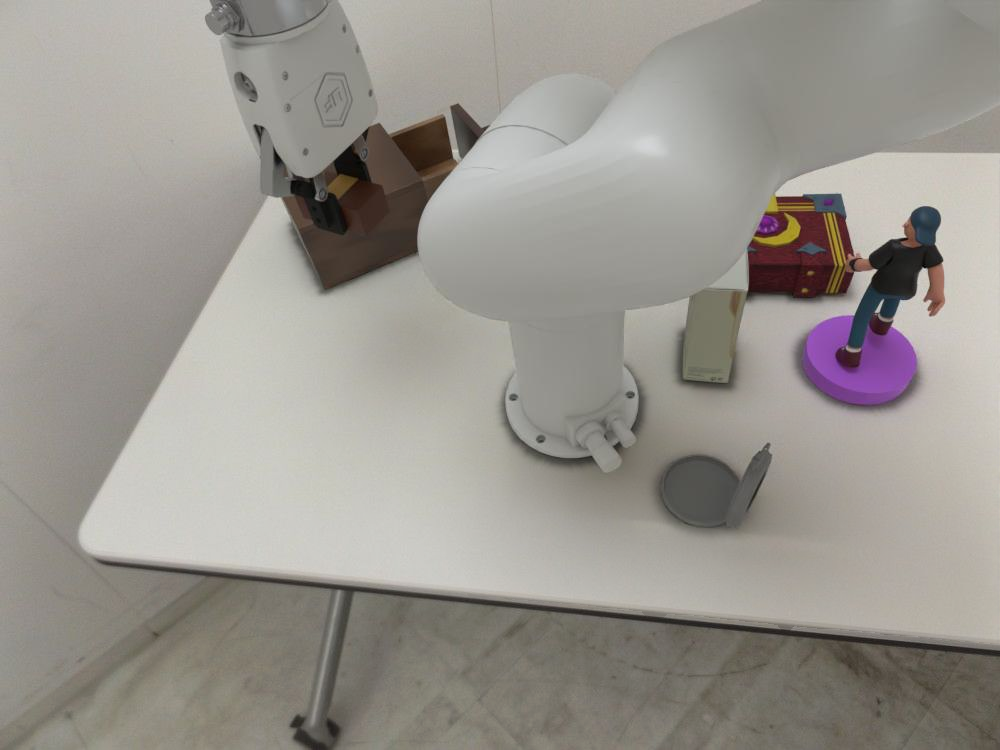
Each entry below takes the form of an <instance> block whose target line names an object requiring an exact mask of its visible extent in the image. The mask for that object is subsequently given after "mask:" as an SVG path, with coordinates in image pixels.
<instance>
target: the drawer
mask: <svg viewBox="0 0 1000 750" xmlns="http://www.w3.org/2000/svg"><path fill="white" fill-rule="evenodd" d="M449 108H450V114H451V120H452V124H453V129H454V130H453V131H454V134H455V139H456V140H455V141H456V145H457V151H458V156H459V157H460V158H461V160H462V159H463V158H464V157H465V156H466V154H467V153H468V152H469V151H470V150H471V149H472V147H473V146H474V145H475V143H476V141H477V140H478V139H479V138H480V137H481V135H482V134H483V133H484V132H485V131H486V130H487V128H488V127H489V126H490V125H491V124H488V125H486V126H483V127H481V126H480V125H479V124H478V123H477V121H476V120H474V118H473V117H472V116H471V115H470V114H469V113H468V112H467V111H466V110H465V109H464V108H463V107H462V105H461V104H460V103H459V102H458V103H455V104H452V105H449ZM388 134H389V136H390V137H391V138H392V140H393V141H394V142H395V144H396V145H397V146H398V148H399V149H400V150H401V152H402V153H403V154H404V156H405V157H406V158H407V160H408V161H409V162H410V164H411V165H412V166H413V168H414V169H415V170H416V172H417V173H418V174H419V176H420V177H421V178H422V180H423V183H424V187H425V191H426V195H427V199H428V201H429V200H430V198H431V197H432V195H433V194H434V193H435V191H436V190H437V189H438V188H439V186H440V185H441V184H442V182H443V181H444V180H445V179H446V178H447V177H448V175H449V174H450V173H451V172H452V171H453V170H454V168H455V167H456V166H457V165H458V164H459V163H460V162H457V160H456V159H455V158H454V154H453V149H452V144H451V139H450V133H449V130H448V123H447V118H446V116H445V114H444V113H441V114H439V115H436V116H433V117H431V118H428V119H425V120H422V121H420V122H418V123H415V124H412V125H410V126H407V127H404V128H401V129H399V130H396V131H394V132H391V133H388Z"/></svg>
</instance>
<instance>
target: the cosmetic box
mask: <svg viewBox="0 0 1000 750" xmlns="http://www.w3.org/2000/svg"><path fill="white" fill-rule="evenodd" d="M748 284H749V271H748V254H747V248H746V250H745V252H744V253H743V255H742V256H741V257H740V259H739V260H738V261H737V262H736V264H735V265H734V266H733V267H732V268H731V269H730V270H729V271H728V272H727V273H726V274H725V275H723V276H722V277H721V278H720V279H718V280H717V281H716V282H714V283H713V284H711V285H710V286H708V287H706V288H705V289H703V290H701V291H699V292H697V293H695V294H693V295H691V296H689V297H688V298H689V300H688V307H687V314H686V322H685V330H684V335H683V336H684V337H683V350H682V351H683V352H682V353H683V354H682V379H683V380H685V381H687V380H688V381H697V382H707V383H720V384H721V383H722V384H727V383H728V382H729V378H730V374H731V369H732V366H733V365H732V364H733V360H734V355H735V352H736V351H735V350H736V346H737V342H738V337H739V332H740V328H741V323H742V318H743V313H744V310H745V304H746V299H747V296H748V294H747V292H748ZM748 293H749V292H748Z"/></svg>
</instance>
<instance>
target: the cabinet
mask: <svg viewBox="0 0 1000 750" xmlns="http://www.w3.org/2000/svg"><path fill="white" fill-rule="evenodd" d="M389 134H390V133H388V132H387V130H386V129H385V127H384V126H383V125H382V123H381V122H378V123H375V124H371V125H370V126H369V130H368V135H367V140H366V145H367V147H368V150H369V156H368V158H367V160H365V163H366V165H367V168H368V171H369V174H370V178H371V181H372V183H376V184H380V185H382V186H383V189H384V193H385V196H386V200H387V203H388V206H389V210H390V212H389V213H388V214H387V215H386V216H385V217H384V219H383V220H382V221H381V222H380V223H379V224H378V225H377V226H376V227H375V228H374V230H373V231H372V232H371V233H370V234H369V235H368V236H367V237H366V236H362V235H359V234H356V233H352V232H349V231H347V232H346V233H345V234H344V235H339V234H336V233H332V232H329V231H326V230H322V229H319V228H317V227H316V226H315V224H314V223H313V221H312V220H309V219H305V218H303V216H302V213H301V211H300V208H299V206H298V204H297V201H296V199H295V197H294V195H293V196H289V197H280V199H281V201H282V203H283V207H284V208H285V210H286V212H287V215H288V218H289V220H290V221H291V224H292V225H293V228H294V230H295V232H296V234H297V236H298V238H299V240H300V242H301V244H302V247H303V248H304V250H305V252H306V254H307V256H308V258H309V261H310V263H311V264H312V267H313V269H314V271H315V273H316V275H317V277H318V279H319V281H320V283H321V285H322V287H323V290H325V291H326V290H328V289H331V288H333V287H336V286H338V285H340V284H343V283H344V282H348V281H350V280H352V279H355V278H357V277H360V276H362V275H365V274H367V273H369V272H371V271H374V270H376V269H379V268H381V267H384V266H386V265H388V264H390V263H394V262H395V261H398V260H400V259H403V258H405V257H407V256H410V255H413V254H415V253H418V246H417V236H418V227H419V222H420V219H421V216H422V213H423V211H424V209H425V207H426V205H427V203H428V199H427V195H426V191H425V187H424V183H423V180H422V178H421V177H420V176H419V174H418V173H417V172H416V170H415V169H414V168H413V166H412V165H411V164H410V162H409V161H408V160H407V158H406V157H405V156H404V154H403V153H402V152H401V150H400V149H399V148H398V146H397V145H396V144H395V142H394V141H393V140H392V138H391V137H390V136H389ZM324 170H326V171H330V172H334V173H337V172H336V169H335V166H334V161H333V162H332V163H331V164H330V165H329V166H328V167H327V168H325V169H324ZM284 176H287V177H289V176H288V172H287V168H286V164H285V167H284ZM305 179H307V178H305Z"/></svg>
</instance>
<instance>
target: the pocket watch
mask: <svg viewBox="0 0 1000 750" xmlns="http://www.w3.org/2000/svg"><path fill="white" fill-rule="evenodd" d="M770 448H771V442H766V444H765V445H764V446H763V447H762V448H761V450H758V451H757V452H756V453H755V454H753V456H752V457H751V460H750V461H749V463H748V465H747V467H746V469H745V471H744V472H743V474H742V476H741V478H739V476H738V474H737V472H736V471H735V470H734V469H732V468H731V467H730V465H729V464H727V463H726V462H724V461H722V460H721V459H718V458H717V457H714V456H711V455H707V454H699V453H697V454H688V455H685V456H681V457H679V458H678V459H676V460H674V461H672V462H671V463H670V464H669V465H668V467H666V469H665V471H664V472H663V475H662V478H661V481H660V489H661V490H660V491H661V496H662V500H663V502H664V504H665V505H666V507H667V509H668V510H669V511H670V512H671V514H673V515H674V516H675V517H677V518H678V519H680V520H681V521H682V522H685V523H686V524H689V525H692V526H695V527H701V528H702V527H704V528H706V527H707V528H709V527H711V528H712V527H716V526H720V525H722V524H725V526H727V527H729V528H731V529H738V528H739V527H740V526H741V525H742V524H743V522H744V520H745V518H746V516H747V515H748V512H749V511H750V509H751V507H752V505H753V503H754V501H755V499H756V498H757V495H758V492H759V491H760V488H761V487H762V485H763V483H764V481H765V478H766V476H767V474H768V471H769V469H770V466H771V463H772V459H773V454H772V453H771V452H770V451H769V450H770Z"/></svg>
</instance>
